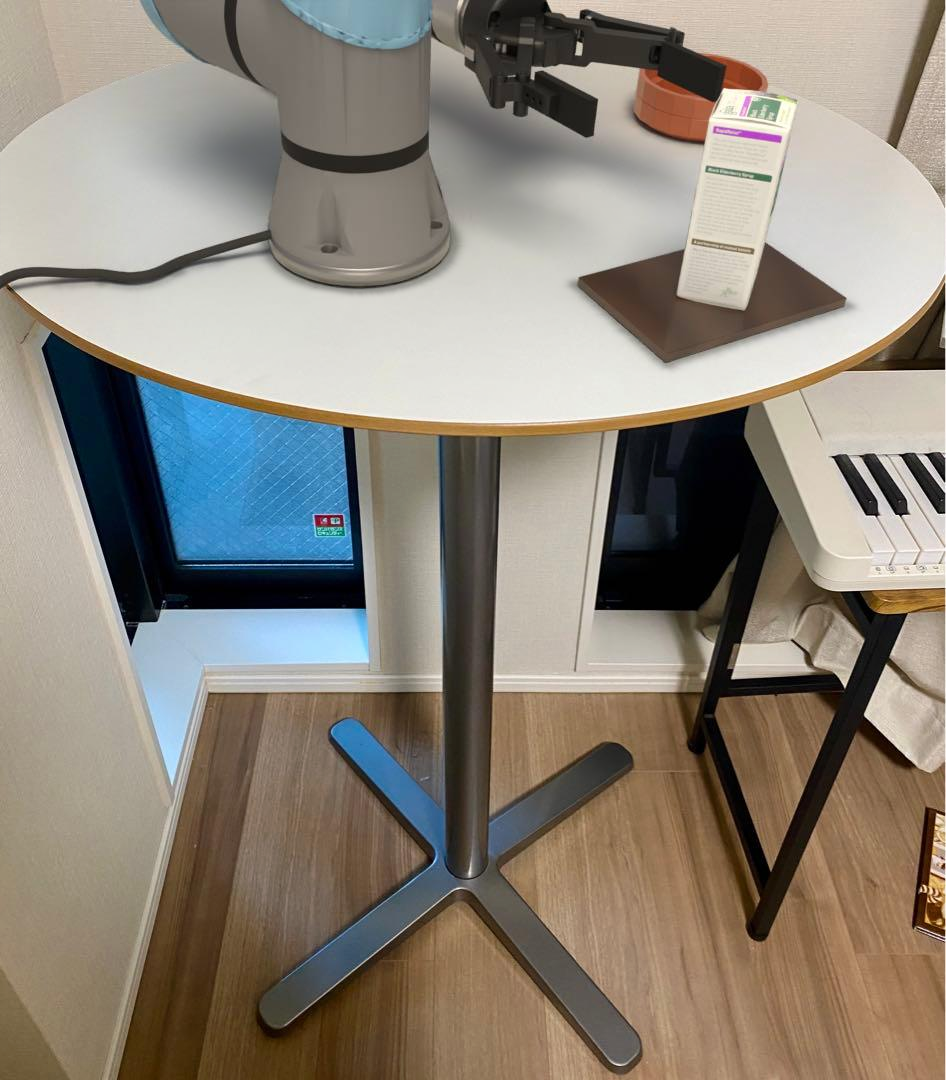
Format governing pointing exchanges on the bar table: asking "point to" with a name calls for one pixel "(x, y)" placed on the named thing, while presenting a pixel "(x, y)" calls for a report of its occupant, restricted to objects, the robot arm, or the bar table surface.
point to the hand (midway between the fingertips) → (658, 101)
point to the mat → (691, 326)
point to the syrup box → (735, 196)
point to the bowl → (688, 99)
